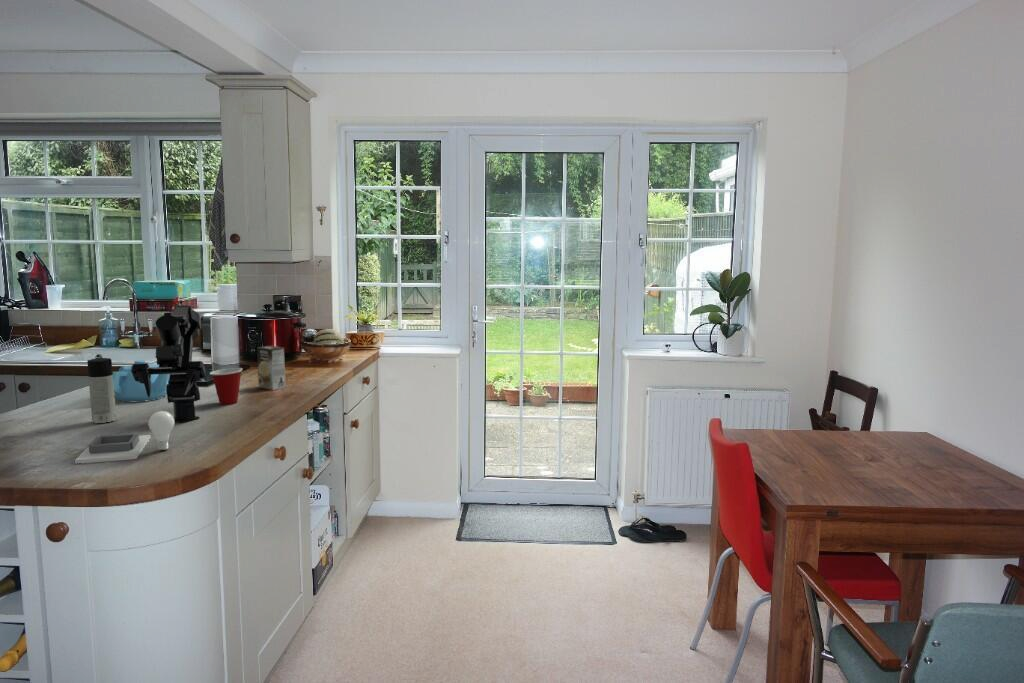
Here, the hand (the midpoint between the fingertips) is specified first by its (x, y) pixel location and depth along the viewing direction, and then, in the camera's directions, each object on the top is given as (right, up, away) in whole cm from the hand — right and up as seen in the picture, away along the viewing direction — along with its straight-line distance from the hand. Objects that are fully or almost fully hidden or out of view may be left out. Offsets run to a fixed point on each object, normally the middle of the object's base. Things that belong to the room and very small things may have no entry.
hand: (166, 395), depth 192 cm
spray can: (-32, -10, +23) cm, 41 cm away
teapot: (-37, -5, +57) cm, 68 cm away
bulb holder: (-11, -14, -6) cm, 19 cm away
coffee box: (+3, -3, +75) cm, 76 cm away
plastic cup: (-3, -7, +49) cm, 50 cm away
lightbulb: (+2, -15, -6) cm, 16 cm away
